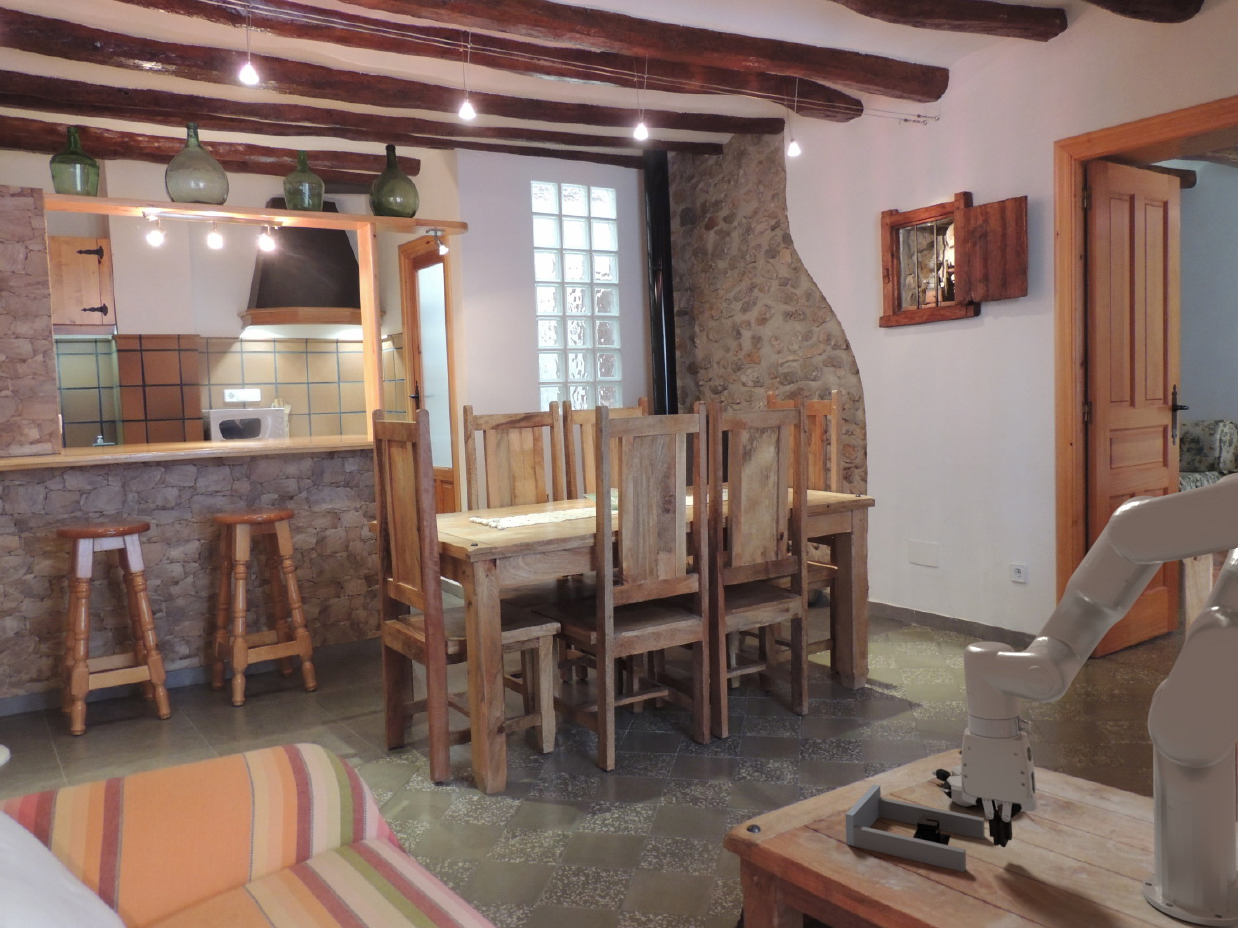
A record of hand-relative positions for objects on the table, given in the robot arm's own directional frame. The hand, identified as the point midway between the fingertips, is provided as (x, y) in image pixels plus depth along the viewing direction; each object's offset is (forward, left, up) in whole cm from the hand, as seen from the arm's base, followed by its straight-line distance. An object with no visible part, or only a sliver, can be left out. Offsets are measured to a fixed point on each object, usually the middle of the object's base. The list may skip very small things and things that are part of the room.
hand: (1001, 842), depth 138 cm
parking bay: (+13, 0, -3) cm, 13 cm away
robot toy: (+9, -22, -3) cm, 24 cm away
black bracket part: (+11, 0, -3) cm, 11 cm away
